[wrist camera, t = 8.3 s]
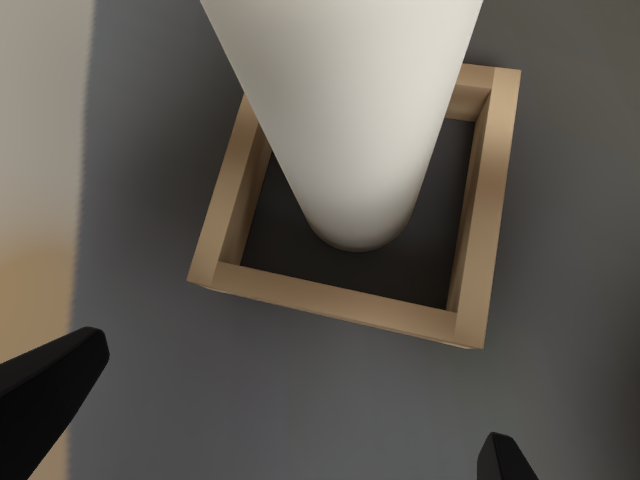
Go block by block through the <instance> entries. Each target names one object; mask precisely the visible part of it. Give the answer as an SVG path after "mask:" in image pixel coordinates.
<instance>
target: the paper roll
mask: <svg viewBox="0 0 640 480" xmlns="http://www.w3.org/2000/svg"><path fill="white" fill-rule="evenodd" d="M200 2H201V4H202V6H203V8H204V10H205V12H206V14H207V16H208V18H209V20H210V23H211V25H212V27H213V29H214V31H215V33H216V35H217V37H218V39H219V41H220V43H221V45H222V47H223V49H224V51H225V53H226V55H227V57H228V60H229V62H230V64H231V66H232V68H233V70H234V72H235V74H236V76H237V78H238V80H239V82H240V84H241V86H242V88H243V90H244V92H245V95H246V97H247V99H248V101H249V103H250V105H251V107H252V109H253V111H254V113H255V115H256V117H257V119H258V121H259V123H260V125H261V127H262V129H263V132H264V134H265V136H266V138H267V140H268V142H269V144H270V146H271V148H272V150H273V152H274V154H275V156H276V158H277V160H278V162H279V164H280V167H281V169H282V171H283V173H284V175H285V177H286V179H287V181H288V183H289V185H290V187H291V189H292V191H293V193H294V195H295V197H296V199H297V201H298V204H299V206H300V208H301V210H302V212H303V214H304V216H305V218H306V220H307V222H308V224H309V226H310V227H311V229H312V230H313V232H314V233H315V234H316V235H317V236H318V237H319V238H320V239H321V240H323V241H324V242H325V243H327V244H329V245H330V246H332V247H334V248H337V249H340V250H343V251H348V252H367V251H372V250H376V249H378V248H381V247H383V246H385V245H387V244H389V243H390V242H392V241H393V240H394V239H396V238H397V237H398V236H399V235H400V234H401V233H402V231H403V230H404V229H405V228H406V226H407V224H408V223H409V221H410V218H411V216H412V213H413V210H414V207H415V204H416V201H417V198H418V195H419V192H420V189H421V186H422V183H423V180H424V177H425V174H426V171H427V168H428V165H429V162H430V159H431V156H432V153H433V150H434V147H435V144H436V141H437V138H438V135H439V132H440V129H441V126H442V123H443V120H444V117H445V114H446V111H447V108H448V105H449V102H450V99H451V95H452V92H453V89H454V86H455V83H456V80H457V77H458V74H459V71H460V68H461V65H462V62H463V59H464V56H465V53H466V50H467V47H468V44H469V41H470V38H471V35H472V32H473V29H474V26H475V23H476V20H477V17H478V14H479V11H480V8H481V5H482V2H483V0H200Z"/></svg>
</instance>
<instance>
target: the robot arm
mask: <svg viewBox="0 0 640 480" xmlns="http://www.w3.org/2000/svg"><path fill="white" fill-rule="evenodd" d="M109 356H110V353H109V349H108V345H107V341H106V337H105V334H104V332H103V331H102V330H100V329H97V328H93V327H83V328H80V329H78V330H76V331H74V332H71V333H69V334H67V335H65V336H62V337H60V338H58V339H56V340H54V341H51V342H49V343H47V344H44V345H42V346H40V347H37V348H35V349H33V350H31V351H28V352H27V353H24V354H22V355H19V356H17V357H15V358H13V359H10V360H8V361H6V362H4V363H1V364H0V480H27V479H28V478H29V477H30V475H31V474H32V473H33V471H34V470H35V469H36V468H37V466H38V465H39V464H40V462H41V460H43V458H44V457H45V456H46V454H47V453H48V452H49V450H50V449H51V448H52V446H53V445H54V444H55V442H56V441H57V440H58V438H59V437H60V436H61V434H62V433H63V432H64V430H65V429H66V428H67V426H68V425H69V423H70V422H71V421H72V419H73V418H74V416H75V415H76V413H77V412H78V410H79V408H80V407H81V405H82V404H83V402H84V400H85V399H86V397H87V395H88V394H89V392H90V391H91V389H92V387H93V386H94V384H95V383H96V381H97V379H98V378H99V376H100V375H101V373H102V371H103V370H104V368H105V366H106V365H107V363H108V360H109ZM477 480H539V479H538V478H537V476H536V474H535V473H534V471H533V470H532V468H531V466H530V465H529V463H528V462H527V460H526V458H525V457H524V455H523V453H522V452H521V450H520V449H519V447H518V445H517V444H516V442H515V441H514V439H513V438H511V437H510V436H508V435H504V434H500V433H496V432H491V433H490V434H489V435H488V437H487V439H486V441H485V443H484V445H483V447H482V449H481V451H480V453H479V456H478V461H477Z"/></svg>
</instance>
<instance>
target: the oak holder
mask: <svg viewBox="0 0 640 480" xmlns="http://www.w3.org/2000/svg"><path fill="white" fill-rule="evenodd" d="M520 76H521V70H515V69H507V68H498V67H490V66H481V65H472V64H464V63H462V65H461V68H460V71H459V74H458V77H457V80H456V83H455V86H454V89H453V92H452V95H451V99H450V102H449V105H448V108H447V111H446V114H445V117H444V118H449V119H457V120H464V121H471V122H476V124H475V130H474V137H473V143H472V149H471V155H470V162H469V168H468V174H467V180H466V187H465V193H464V199H463V205H462V212H461V218H460V224H459V230H458V236H457V243H456V249H455V255H454V261H453V268H452V274H451V280H450V286H449V293H448V299H447V305H446V311H445V310H441V309H436V308H431V307H427V306H422V305H418V304H413V303H408V302H404V301H399V300H395V299H390V298H385V297H381V296H376V295H372V294H367V293H362V292H358V291H353V290H349V289H344V288H339V287H335V286H330V285H326V284H321V283H316V282H312V281H307V280H303V279H298V278H293V277H289V276H284V275H280V274H275V273H270V272H266V271H261V270H257V269H252V268H247V267H243V266H240V263H241V259H242V256H243V252H244V249H245V245H246V241H247V238H248V234H249V231H250V227H251V224H252V220H253V217H254V213H255V209H256V206H257V202H258V199H259V195H260V192H261V188H262V184H263V181H264V177H265V174H266V170H267V167H268V163H269V160H270V156H271V152H272V148H271V146H270V144H269V142H268V140H267V138H266V136H265V134H264V132H263V129H262V127H261V125H260V123H259V121H258V119H257V117H256V115H255V113H254V111H253V109H252V107H251V105H250V103H249V101H248V99H247V97H246V95H245V92H244V95H243V98H242V101H241V105H240V108H239V111H238V114H237V118H236V121H235V124H234V127H233V130H232V134H231V137H230V140H229V143H228V147H227V150H226V153H225V156H224V160H223V163H222V166H221V169H220V173H219V176H218V179H217V182H216V186H215V189H214V192H213V195H212V199H211V202H210V205H209V208H208V211H207V215H206V218H205V221H204V224H203V228H202V231H201V234H200V237H199V241H198V244H197V247H196V250H195V254H194V257H193V260H192V263H191V267H190V270H189V273H188V276H187V280H186V281H188V282H191V283H193V284H196V285H199V286H202V287H205V288H207V289H210V290H214V291H219V292H223V293H227V294H232V295H236V296H240V297H245V298H249V299H253V300H258V301H262V302H266V303H271V304H275V305H279V306H284V307H288V308H292V309H297V310H301V311H305V312H310V313H314V314H318V315H323V316H327V317H331V318H336V319H340V320H344V321H349V322H353V323H357V324H362V325H366V326H370V327H375V328H379V329H383V330H388V331H392V332H396V333H401V334H405V335H410V336H414V337H418V338H423V339H427V340H431V341H436V342H440V343H444V344H449V345H453V346H457V347H462V348H466V349H483V347H484V340H485V333H486V325H487V318H488V311H489V303H490V296H491V289H492V281H493V274H494V267H495V259H496V252H497V245H498V237H499V230H500V223H501V215H502V208H503V201H504V193H505V186H506V179H507V171H508V164H509V157H510V149H511V142H512V135H513V127H514V120H515V113H516V105H517V98H518V91H519V83H520Z"/></svg>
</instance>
